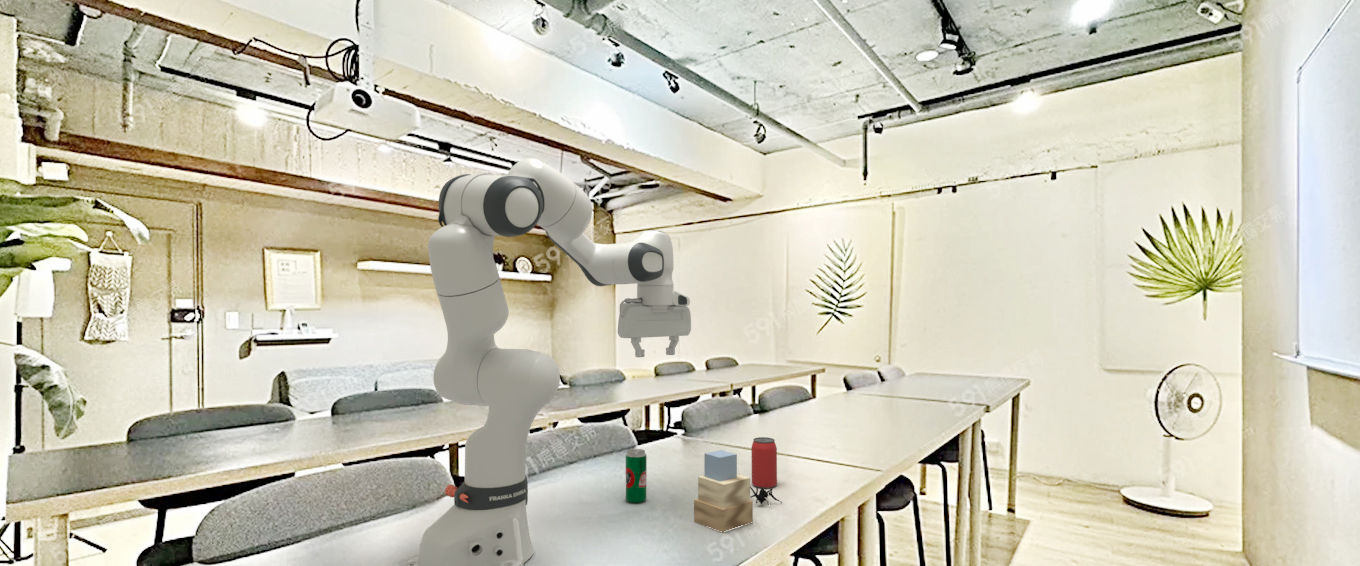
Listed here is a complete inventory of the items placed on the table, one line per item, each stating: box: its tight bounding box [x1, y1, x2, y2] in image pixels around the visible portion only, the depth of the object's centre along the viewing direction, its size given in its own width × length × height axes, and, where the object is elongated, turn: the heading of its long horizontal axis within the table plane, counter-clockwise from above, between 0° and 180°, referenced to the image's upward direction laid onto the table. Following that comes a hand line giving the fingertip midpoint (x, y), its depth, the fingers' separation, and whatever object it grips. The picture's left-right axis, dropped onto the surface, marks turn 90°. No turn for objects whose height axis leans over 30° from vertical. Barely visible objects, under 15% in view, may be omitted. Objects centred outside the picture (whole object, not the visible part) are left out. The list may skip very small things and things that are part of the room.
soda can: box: [625, 448, 648, 504], centre depth 149 cm, size 5×5×12 cm
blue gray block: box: [703, 449, 738, 481], centre depth 135 cm, size 5×5×5 cm
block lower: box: [693, 498, 754, 532], centre depth 134 cm, size 9×9×5 cm
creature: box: [750, 481, 783, 506], centre depth 148 cm, size 8×5×8 cm
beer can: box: [751, 436, 778, 489], centre depth 162 cm, size 7×7×12 cm
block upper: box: [697, 473, 751, 509], centre depth 134 cm, size 8×8×5 cm
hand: (655, 356), depth 148 cm, fingers open, 8 cm apart
